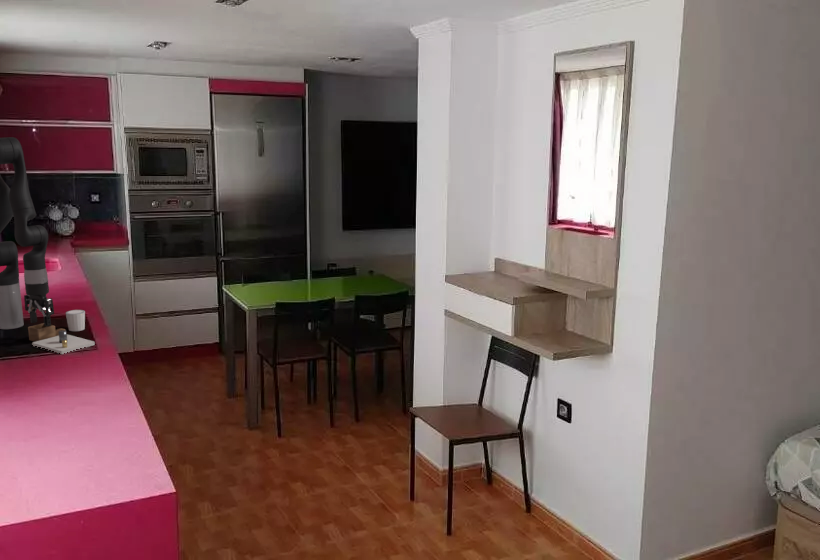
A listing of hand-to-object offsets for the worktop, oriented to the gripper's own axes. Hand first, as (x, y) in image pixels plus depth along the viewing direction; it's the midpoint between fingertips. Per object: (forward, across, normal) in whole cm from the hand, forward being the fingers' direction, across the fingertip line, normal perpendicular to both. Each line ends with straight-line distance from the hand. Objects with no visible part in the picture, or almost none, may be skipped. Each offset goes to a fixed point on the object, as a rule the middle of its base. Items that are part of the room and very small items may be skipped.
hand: (40, 324), depth 266 cm
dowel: (+5, +18, -3) cm, 18 cm away
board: (+6, +12, +1) cm, 13 cm away
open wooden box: (+6, -1, +3) cm, 7 cm away
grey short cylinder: (+6, -2, +16) cm, 17 cm away
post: (+5, +12, +1) cm, 13 cm away
